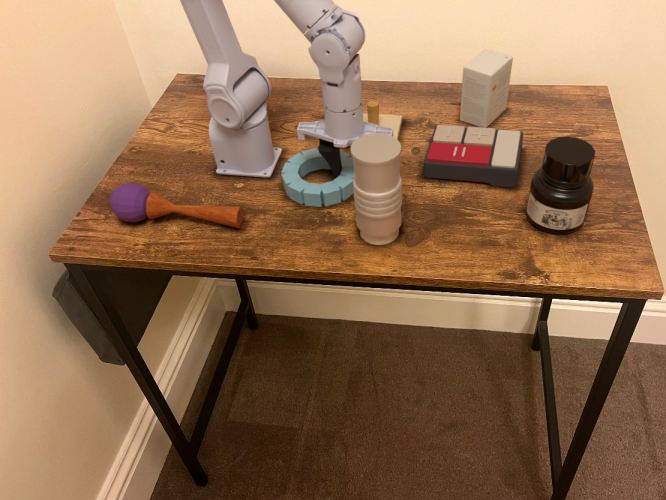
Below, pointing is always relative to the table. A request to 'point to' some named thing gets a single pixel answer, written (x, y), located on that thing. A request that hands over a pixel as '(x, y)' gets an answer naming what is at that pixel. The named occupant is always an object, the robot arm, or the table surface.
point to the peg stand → (382, 118)
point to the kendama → (166, 207)
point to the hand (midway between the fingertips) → (348, 177)
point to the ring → (313, 191)
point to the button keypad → (474, 155)
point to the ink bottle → (562, 186)
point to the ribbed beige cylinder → (377, 187)
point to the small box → (485, 88)
